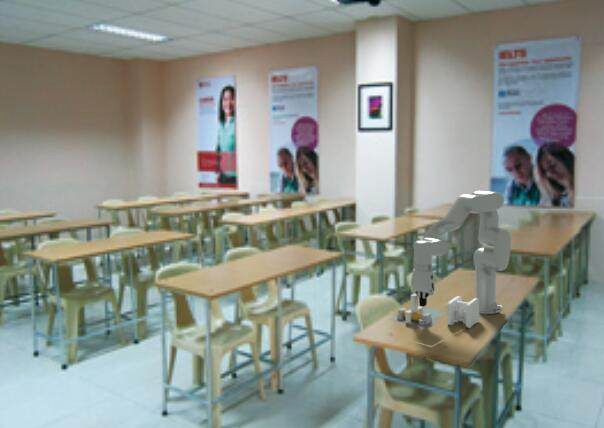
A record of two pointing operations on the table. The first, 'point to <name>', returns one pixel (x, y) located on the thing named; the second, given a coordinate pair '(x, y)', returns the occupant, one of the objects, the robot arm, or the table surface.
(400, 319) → the board
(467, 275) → the table surface
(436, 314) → the mat
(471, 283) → the table surface
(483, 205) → the robot arm
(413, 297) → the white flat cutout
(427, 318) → the grey orange bar
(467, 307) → the cable organizer
